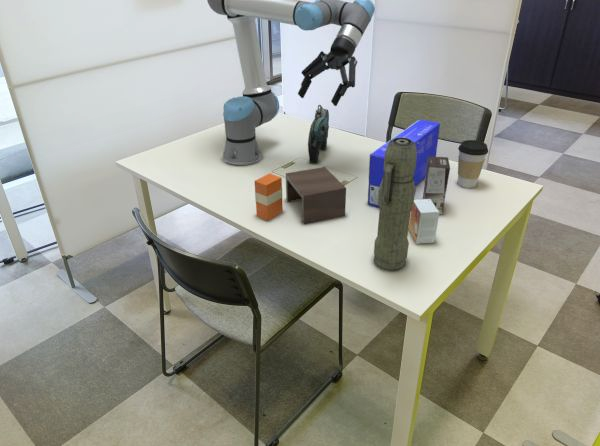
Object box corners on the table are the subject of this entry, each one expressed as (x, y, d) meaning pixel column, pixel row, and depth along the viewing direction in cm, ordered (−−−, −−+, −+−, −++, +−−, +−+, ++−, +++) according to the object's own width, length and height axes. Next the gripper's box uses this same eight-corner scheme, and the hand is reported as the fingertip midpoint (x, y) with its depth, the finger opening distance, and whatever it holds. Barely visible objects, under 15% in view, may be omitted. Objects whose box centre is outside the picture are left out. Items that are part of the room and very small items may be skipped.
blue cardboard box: (414, 164, 187) (419, 118, 177) (434, 169, 183) (441, 122, 173) (365, 204, 160) (369, 152, 150) (388, 211, 156) (393, 158, 146)
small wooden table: (286, 200, 163) (285, 173, 158) (324, 193, 167) (324, 166, 162) (303, 224, 149) (303, 195, 144) (345, 216, 154) (346, 188, 148)
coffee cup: (486, 183, 172) (494, 144, 164) (473, 193, 166) (481, 152, 158) (460, 175, 178) (467, 137, 170) (447, 184, 172) (453, 145, 164)
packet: (256, 216, 154) (254, 180, 148) (271, 207, 159) (269, 173, 152) (268, 221, 151) (266, 185, 145) (283, 212, 156) (281, 177, 150)
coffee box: (442, 215, 154) (450, 168, 145) (422, 213, 155) (428, 167, 146) (441, 201, 161) (448, 156, 153) (421, 199, 162) (428, 155, 154)
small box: (408, 229, 146) (412, 199, 141) (426, 228, 146) (430, 198, 141) (415, 244, 139) (420, 212, 134) (434, 243, 140) (439, 211, 134)
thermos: (413, 256, 134) (429, 137, 116) (395, 278, 126) (409, 153, 108) (384, 246, 138) (396, 130, 120) (365, 266, 130) (374, 144, 112)
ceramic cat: (317, 145, 205) (317, 98, 195) (332, 146, 204) (333, 99, 193) (305, 163, 189) (304, 113, 178) (321, 165, 187) (321, 115, 177)
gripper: (382, 55, 153) (353, 113, 151) (320, 45, 166) (292, 98, 164) (374, 40, 146) (343, 100, 144) (310, 31, 160) (281, 86, 158)
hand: (316, 99), depth 154 cm, fingers open, 13 cm apart
